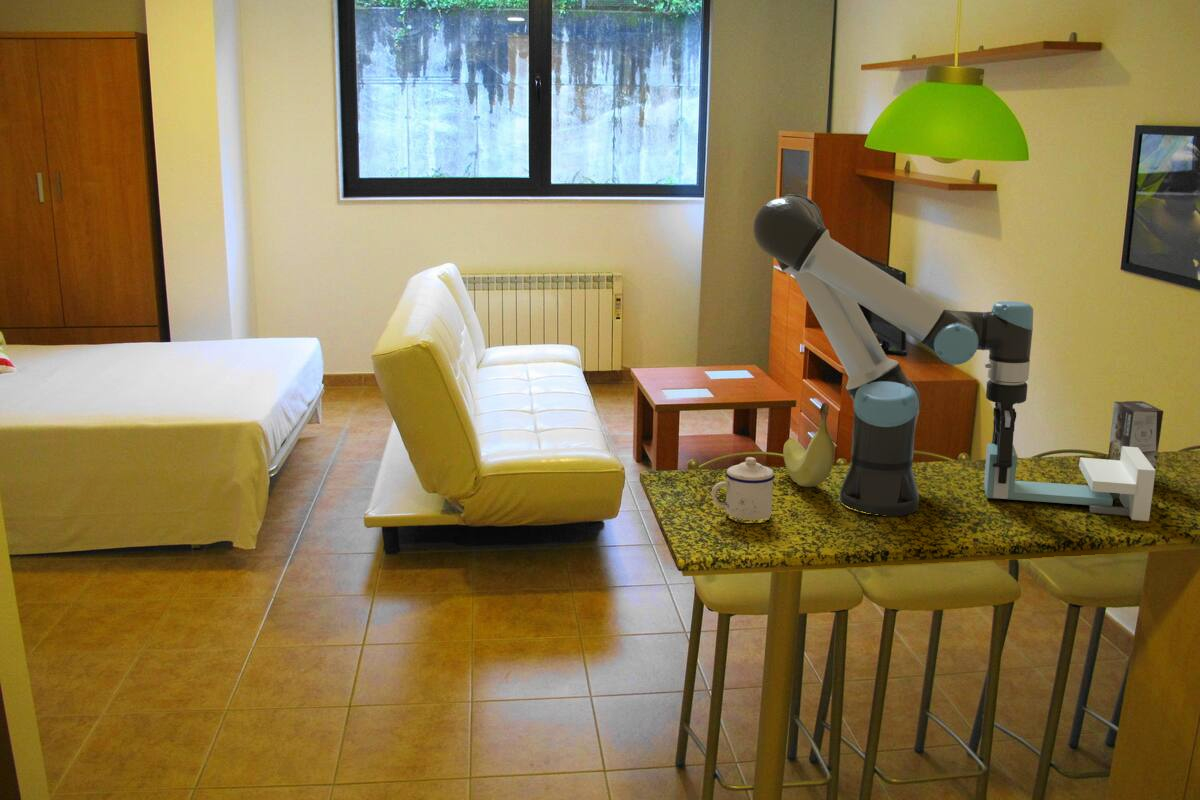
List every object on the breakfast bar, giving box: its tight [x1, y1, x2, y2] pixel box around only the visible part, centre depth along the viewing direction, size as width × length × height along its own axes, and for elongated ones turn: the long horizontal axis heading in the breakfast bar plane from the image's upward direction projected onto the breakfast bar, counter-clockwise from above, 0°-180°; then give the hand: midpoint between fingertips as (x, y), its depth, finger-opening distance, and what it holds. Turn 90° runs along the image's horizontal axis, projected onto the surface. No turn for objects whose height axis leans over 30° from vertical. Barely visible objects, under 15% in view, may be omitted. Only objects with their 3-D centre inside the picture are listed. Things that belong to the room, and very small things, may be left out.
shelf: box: [1078, 446, 1157, 522], centre depth 213 cm, size 10×16×10 cm, turn 165°
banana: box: [782, 402, 835, 488], centre depth 223 cm, size 23×6×20 cm, turn 8°
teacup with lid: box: [711, 456, 776, 520], centre depth 205 cm, size 12×9×12 cm
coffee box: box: [1107, 400, 1164, 471], centre depth 229 cm, size 9×6×16 cm
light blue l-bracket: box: [983, 443, 1114, 506], centre depth 216 cm, size 23×8×9 cm, turn 75°
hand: (998, 490), depth 220 cm, fingers closed on light blue l-bracket, 8 cm apart
